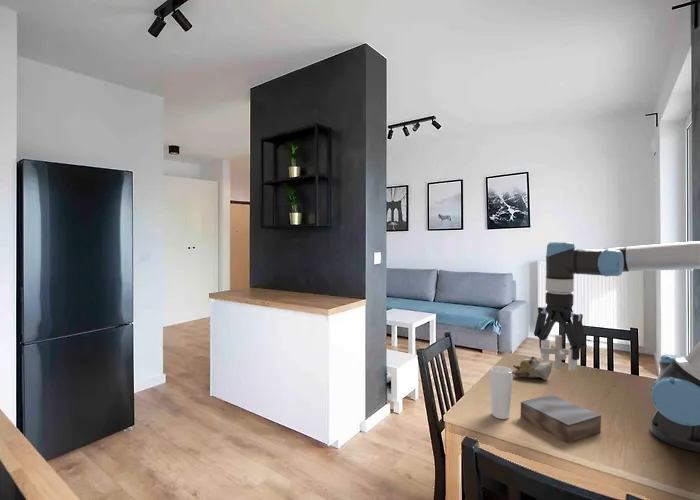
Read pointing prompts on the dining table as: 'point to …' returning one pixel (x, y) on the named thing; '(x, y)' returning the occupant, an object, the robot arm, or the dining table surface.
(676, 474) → the dining table surface
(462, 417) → the dining table surface
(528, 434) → the dining table surface
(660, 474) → the dining table surface
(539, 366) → the ceramic sculpture
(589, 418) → the block
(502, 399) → the drinking glass
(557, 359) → the pipe connector
